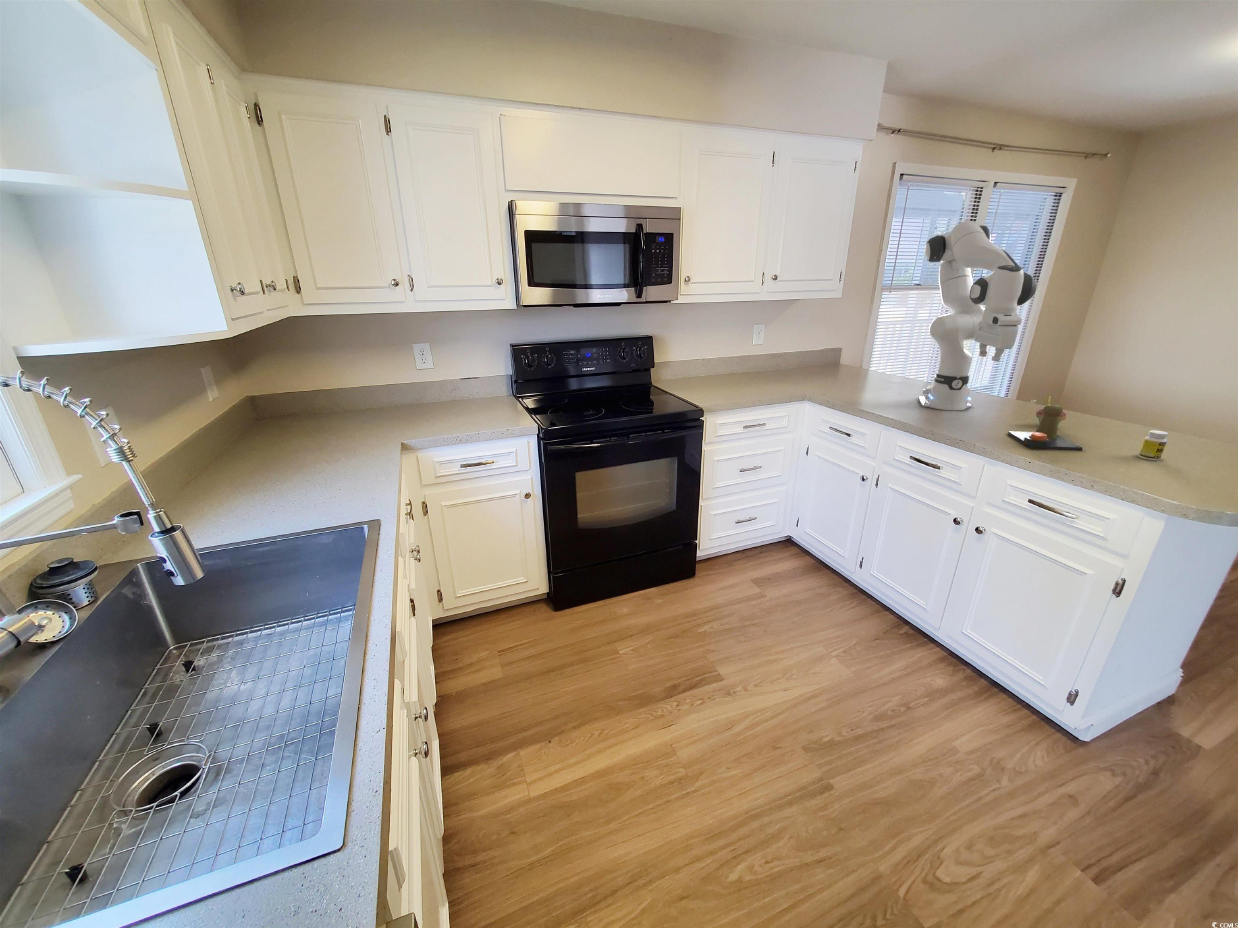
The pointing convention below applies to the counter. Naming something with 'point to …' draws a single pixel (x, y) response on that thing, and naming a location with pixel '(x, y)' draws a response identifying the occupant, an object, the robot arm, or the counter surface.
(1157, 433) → the supplement bottle
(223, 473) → the counter surface
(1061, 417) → the cupcake
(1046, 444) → the scale
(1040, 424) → the cork
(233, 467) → the counter surface
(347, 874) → the counter surface
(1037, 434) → the tare button
